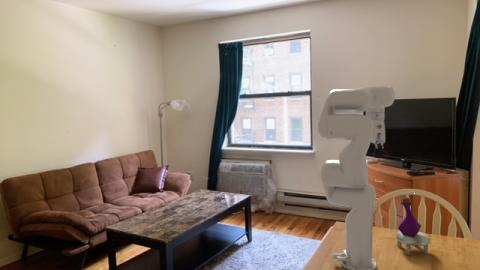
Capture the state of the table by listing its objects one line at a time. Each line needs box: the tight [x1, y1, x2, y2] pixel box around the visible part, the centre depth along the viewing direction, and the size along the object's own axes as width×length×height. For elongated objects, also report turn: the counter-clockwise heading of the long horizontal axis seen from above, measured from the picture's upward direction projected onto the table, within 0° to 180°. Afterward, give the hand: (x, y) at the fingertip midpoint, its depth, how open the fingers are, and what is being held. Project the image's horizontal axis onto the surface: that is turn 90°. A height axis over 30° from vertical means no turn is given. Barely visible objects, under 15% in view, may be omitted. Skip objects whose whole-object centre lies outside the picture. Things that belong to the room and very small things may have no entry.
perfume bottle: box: [397, 190, 422, 237], centre depth 138 cm, size 8×8×18 cm
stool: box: [395, 230, 431, 257], centre depth 138 cm, size 12×12×6 cm
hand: (374, 155), depth 149 cm, fingers open, 9 cm apart
